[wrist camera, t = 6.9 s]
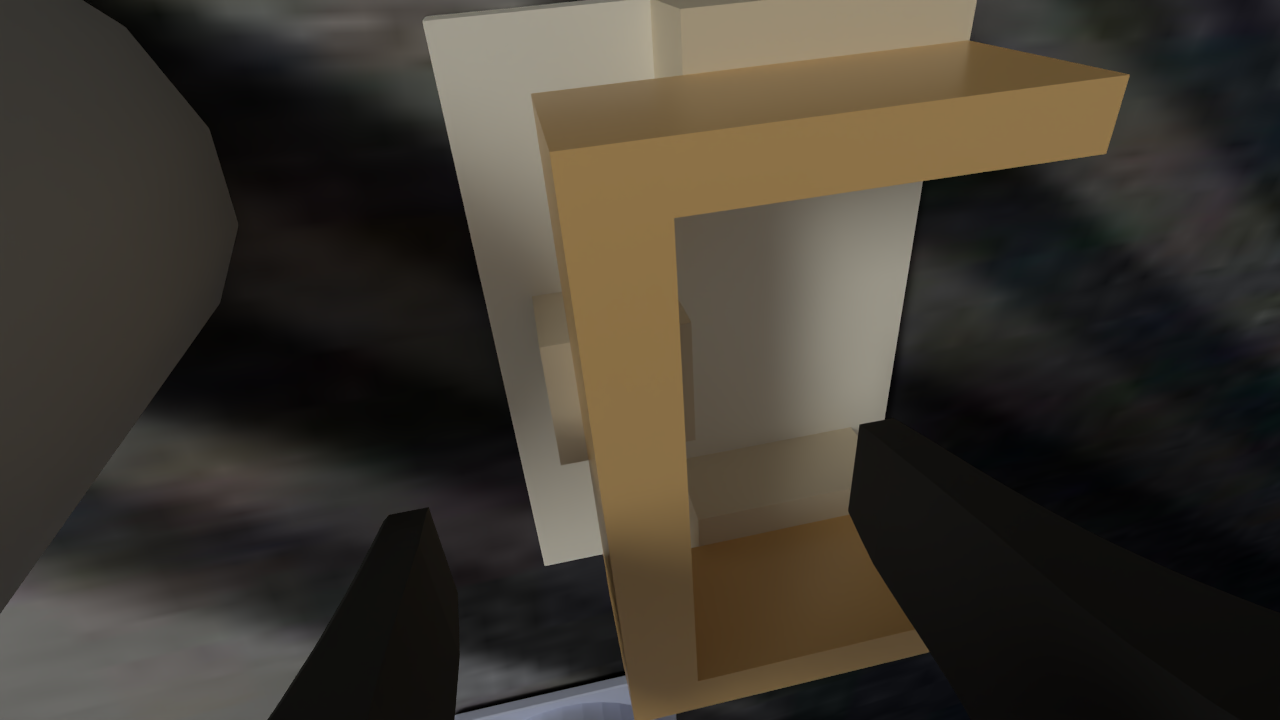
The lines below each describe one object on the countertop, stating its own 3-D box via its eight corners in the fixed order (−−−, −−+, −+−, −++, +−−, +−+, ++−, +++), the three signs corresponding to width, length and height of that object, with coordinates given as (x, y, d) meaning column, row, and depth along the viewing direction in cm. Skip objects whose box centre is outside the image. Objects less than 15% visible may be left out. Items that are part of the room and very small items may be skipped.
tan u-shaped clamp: (967, 40, 11) (1130, 75, 8) (882, 533, 18) (957, 645, 15) (530, 93, 10) (549, 152, 8) (609, 593, 17) (635, 723, 14)
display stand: (933, -35, 13) (1036, -29, 11) (859, 480, 21) (910, 553, 19) (425, 16, 12) (411, 37, 10) (542, 544, 20) (551, 632, 17)
